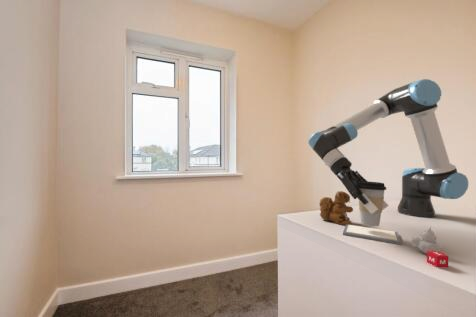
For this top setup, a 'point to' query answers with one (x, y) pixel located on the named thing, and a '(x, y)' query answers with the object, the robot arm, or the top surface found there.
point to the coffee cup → (377, 197)
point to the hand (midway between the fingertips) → (380, 209)
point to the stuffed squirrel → (336, 208)
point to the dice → (437, 259)
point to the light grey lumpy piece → (427, 242)
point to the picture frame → (372, 234)
